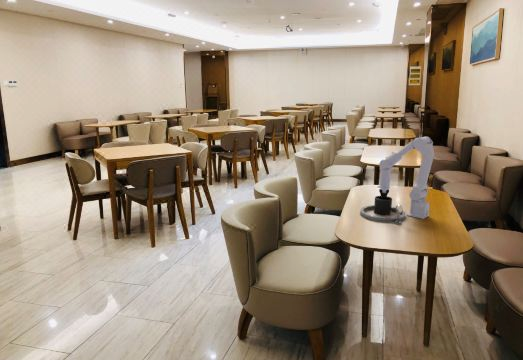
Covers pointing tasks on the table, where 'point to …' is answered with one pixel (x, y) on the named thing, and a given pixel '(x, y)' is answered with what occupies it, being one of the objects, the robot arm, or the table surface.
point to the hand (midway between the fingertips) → (383, 201)
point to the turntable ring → (380, 217)
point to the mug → (382, 205)
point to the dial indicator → (398, 214)
